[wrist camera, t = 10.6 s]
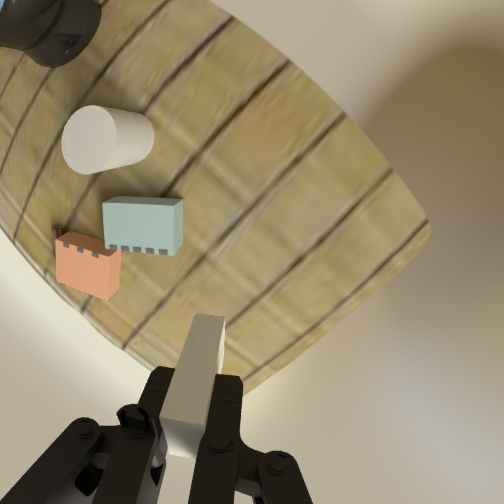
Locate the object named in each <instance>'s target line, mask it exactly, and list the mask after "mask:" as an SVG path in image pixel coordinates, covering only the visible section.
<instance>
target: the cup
mask: <svg viewBox="0 0 504 504" xmlns="http://www.w3.org/2000/svg"><path fill="white" fill-rule="evenodd" d="M153 143H154V130H153V126H152V124H151V122H150V121H149V120H148V119H147V118H146V117H145V116H144V115H142V114H140V113H135V112H130V111H125V110H119V109H114V108H108V107H102V106H95V105H90V106H85V107H83V108H81V109H79V110H77V111H76V112H75V113H74V114H73V115H72V116H71V117H70V119H69V120H68V122H67V123H66V125H65V128H64V131H63V134H62V153H63V156H64V159H65V161H66V163H67V164H68V165H69V167H70V168H71V169H73V170H74V171H76V172H78V173H80V174H92V173H96V172H100V171H105V170H109V169H113V168H118V167H122V166H127V165H132V164H136V163H138V162H140V161H142V160H143V159H144V158H145V157H146V156H147V155H148V154H149V152H150V151H151V149H152V146H153Z"/></svg>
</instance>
